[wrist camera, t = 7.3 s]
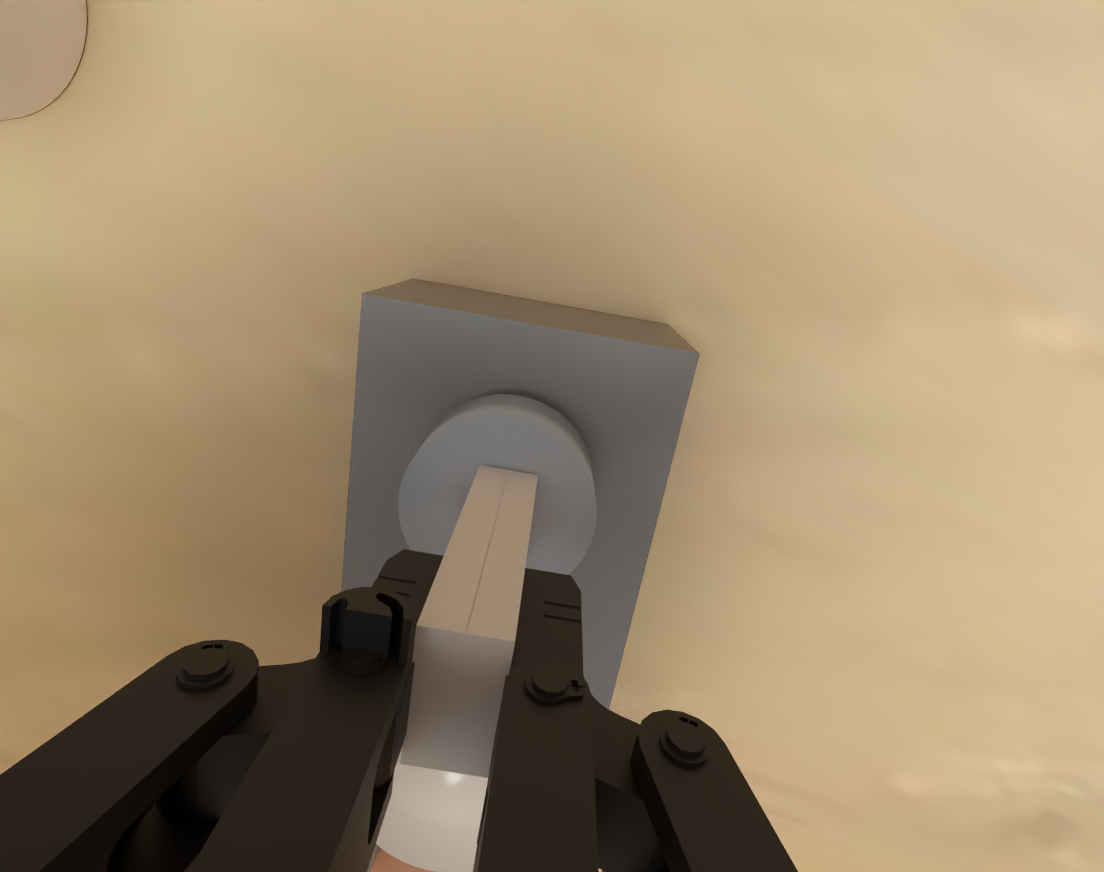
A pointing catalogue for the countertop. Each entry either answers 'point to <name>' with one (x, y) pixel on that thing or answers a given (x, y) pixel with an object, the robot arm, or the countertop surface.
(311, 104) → the countertop surface
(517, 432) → the pale blue knob
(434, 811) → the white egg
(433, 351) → the key panel
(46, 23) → the cup
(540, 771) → the robot arm
